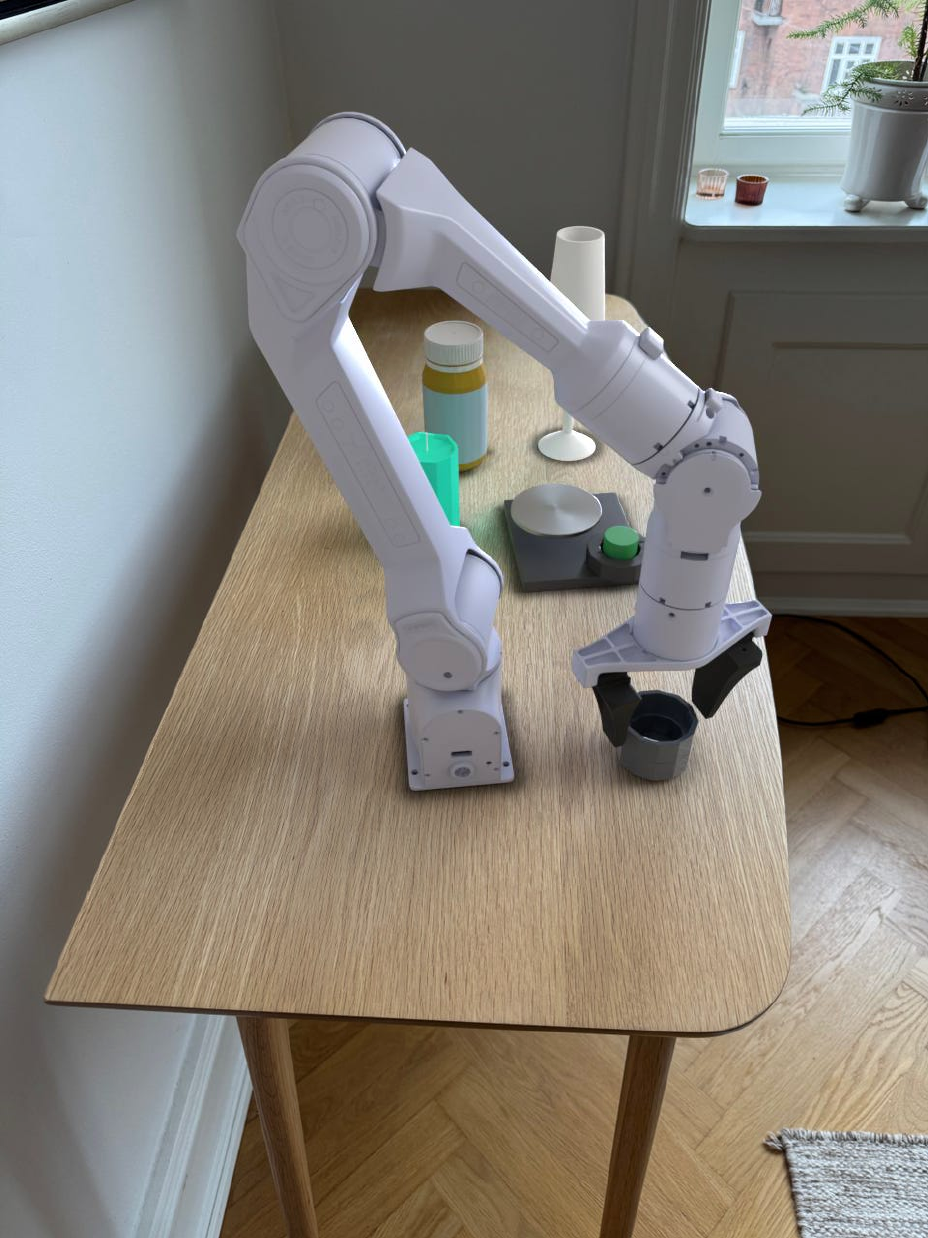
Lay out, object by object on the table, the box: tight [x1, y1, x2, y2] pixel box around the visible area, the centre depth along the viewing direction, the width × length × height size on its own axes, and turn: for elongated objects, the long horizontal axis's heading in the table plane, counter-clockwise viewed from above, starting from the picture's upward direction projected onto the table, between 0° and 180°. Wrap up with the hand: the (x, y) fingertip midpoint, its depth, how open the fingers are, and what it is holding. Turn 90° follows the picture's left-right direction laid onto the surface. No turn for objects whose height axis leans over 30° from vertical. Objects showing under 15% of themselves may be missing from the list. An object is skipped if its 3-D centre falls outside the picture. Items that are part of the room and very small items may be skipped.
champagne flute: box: [537, 225, 606, 462], centre depth 99 cm, size 7×7×24 cm
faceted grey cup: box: [615, 689, 699, 782], centre depth 70 cm, size 6×6×4 cm
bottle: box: [421, 320, 488, 472], centre depth 100 cm, size 7×7×15 cm
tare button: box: [603, 526, 639, 560], centre depth 86 cm, size 3×3×2 cm
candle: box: [406, 431, 461, 527], centre depth 89 cm, size 6×6×12 cm
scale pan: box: [511, 483, 602, 539], centre depth 91 cm, size 9×9×1 cm
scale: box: [503, 492, 645, 593], centre depth 91 cm, size 15×12×3 cm
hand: (658, 723), depth 69 cm, fingers open, 7 cm apart
